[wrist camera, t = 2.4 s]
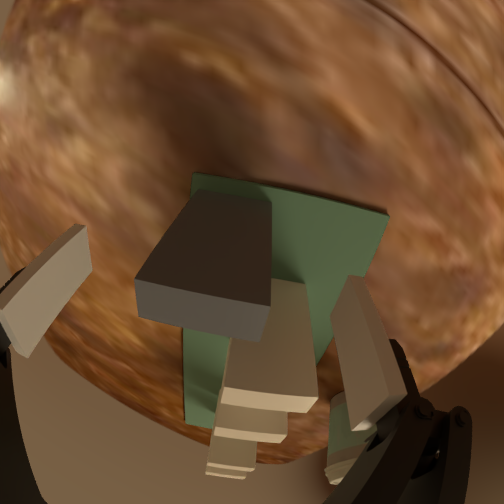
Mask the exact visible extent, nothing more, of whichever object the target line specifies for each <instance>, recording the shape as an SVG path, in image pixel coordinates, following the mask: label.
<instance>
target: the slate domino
mask: <svg viewBox="0 0 504 504" xmlns="http://www.w3.org/2000/svg"><path fill="white" fill-rule="evenodd" d="M271 265H272V202H267V201H262V200H257V199H252V198H246V197H241V196H236V195H230V194H224V193H219V192H213V191H207V190H201V189H198V190H197V191H196V192H195V194H194V195H193V196H192V198H191V199H190V200H189V201H188V203H187V204H186V205H185V207H184V208H183V209H182V211H181V212H180V213H179V215H178V216H177V218H176V219H175V220H174V222H173V223H172V224H171V226H170V227H169V229H168V230H167V231H166V233H165V234H164V236H163V237H162V238H161V240H160V241H159V243H158V244H157V245H156V247H155V248H154V250H153V251H152V253H151V254H150V256H149V257H148V259H147V260H146V262H145V263H144V265H143V266H142V268H141V269H140V271H139V272H138V274H137V275H136V277H135V278H134V282H135V291H136V300H137V308H138V315H139V317H141V318H145V319H149V320H153V321H157V322H161V323H165V324H169V325H173V326H178V327H182V328H186V329H191V330H196V331H200V332H205V333H210V334H215V335H220V336H225V337H231V338H236V339H242V340H248V341H254V342H260V339H261V336H262V333H263V330H264V327H265V323H266V320H267V317H268V314H269V310H270V307H271Z"/></svg>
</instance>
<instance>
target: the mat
mask: <svg viewBox="0 0 504 504" xmlns="http://www.w3.org/2000/svg"><path fill="white" fill-rule="evenodd" d="M198 189H201V190H207V191H213V192H219V193H224V194H230V195H236V196H241V197H246V198H252V199H257V200H262V201H267V202H272V265H271V278H274V279H280V280H285V281H291V282H297V283H302V284H306V290H307V297H308V305H309V312H310V320H311V328H312V336H313V345H314V354H315V363H316V365H317V364H318V362H319V361H320V359H321V357H322V356H323V354H324V352H325V350H326V349H327V347H328V345H329V344H330V342H331V340H332V338H333V336H334V334H333V329H332V325H331V320H330V315H331V312H332V310H333V308H334V306H335V304H336V302H337V300H338V297H339V295H340V293H341V291H342V289H343V286H344V284H345V282H346V280H347V277H348V275H355V276H360V277H363V278H364V276H365V274H366V272H367V270H368V268H369V266H370V263H371V261H372V259H373V257H374V254H375V252H376V250H377V247H378V245H379V243H380V240H381V238H382V236H383V233H384V231H385V228H386V226H387V223H388V221H389V218H390V216H389V215H388V214H385V213H381V212H378V211H374V210H370V209H367V208H363V207H359V206H356V205H352V204H348V203H344V202H340V201H336V200H332V199H328V198H324V197H320V196H315V195H311V194H307V193H302V192H298V191H293V190H289V189H284V188H279V187H274V186H270V185H265V184H259V183H254V182H249V181H244V180H238V179H232V178H227V177H221V176H215V175H209V174H202V173H196V172H194V173H193V174H192V182H191V192H190V199H191V198H192V196H193V195H194V194H195V192H196V191H197V190H198ZM229 339H230V337H225V336H220V335H215V334H210V333H205V332H200V331H196V330H191V329H186V328H183V369H184V402H185V421H186V424H191V425H195V426H200V427H205V428H211V429H213V423H214V417H215V412H216V408H217V402H218V396H219V391H220V389H221V387H222V381H223V375H224V369H225V363H226V357H227V351H228V345H229Z"/></svg>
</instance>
